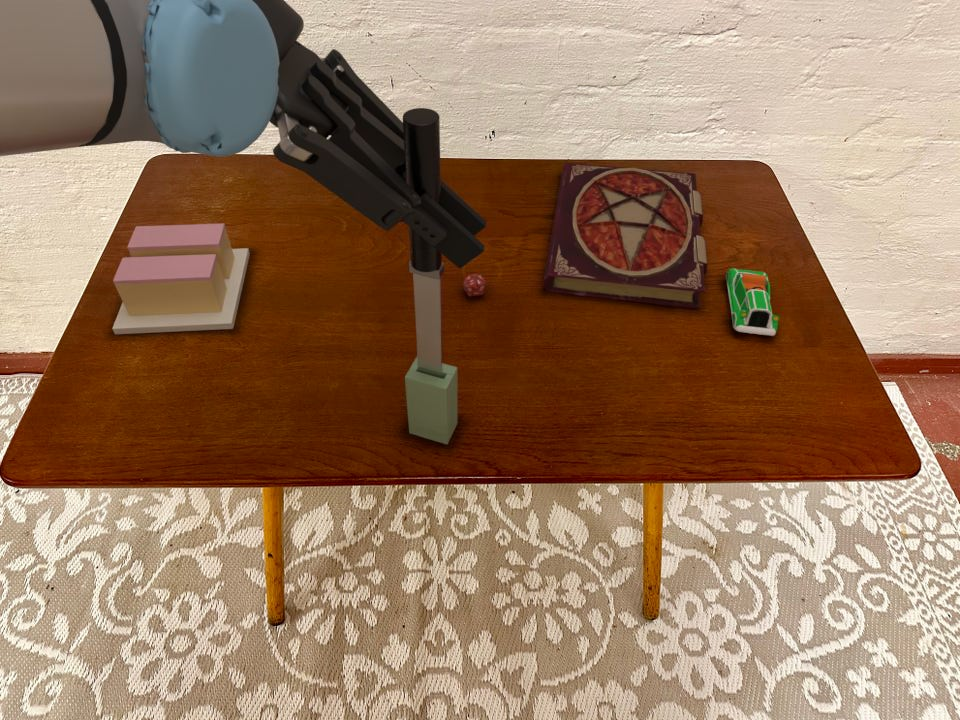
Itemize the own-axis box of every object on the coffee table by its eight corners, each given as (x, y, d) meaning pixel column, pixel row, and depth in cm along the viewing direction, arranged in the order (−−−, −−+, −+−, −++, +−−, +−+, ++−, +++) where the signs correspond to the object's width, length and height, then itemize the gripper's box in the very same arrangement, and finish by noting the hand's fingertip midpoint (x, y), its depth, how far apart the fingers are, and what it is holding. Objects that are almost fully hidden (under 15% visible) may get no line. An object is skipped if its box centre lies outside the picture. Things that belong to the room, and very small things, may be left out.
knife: (438, 381, 66) (432, 128, 47) (411, 373, 66) (395, 120, 48) (448, 363, 67) (446, 111, 49) (422, 356, 68) (410, 104, 49)
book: (561, 180, 110) (564, 152, 106) (695, 192, 107) (703, 163, 104) (542, 294, 91) (544, 264, 87) (705, 312, 88) (714, 282, 84)
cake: (233, 329, 84) (219, 287, 79) (114, 334, 83) (93, 293, 78) (250, 253, 94) (238, 213, 89) (144, 257, 93) (127, 217, 88)
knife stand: (447, 444, 72) (446, 389, 66) (409, 433, 73) (404, 377, 67) (457, 423, 74) (457, 367, 68) (420, 412, 75) (417, 355, 69)
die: (489, 296, 89) (490, 279, 87) (468, 303, 88) (469, 286, 86) (479, 283, 91) (479, 266, 89) (458, 290, 90) (458, 272, 88)
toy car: (773, 343, 84) (786, 317, 81) (731, 338, 85) (742, 312, 82) (761, 281, 92) (772, 256, 89) (722, 277, 93) (732, 251, 90)
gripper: (227, 18, 52) (448, 216, 63) (147, 116, 41) (432, 332, 52) (285, -58, 48) (509, 167, 59) (213, 27, 37) (505, 282, 48)
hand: (472, 244), depth 56 cm, fingers closed on knife, 3 cm apart
